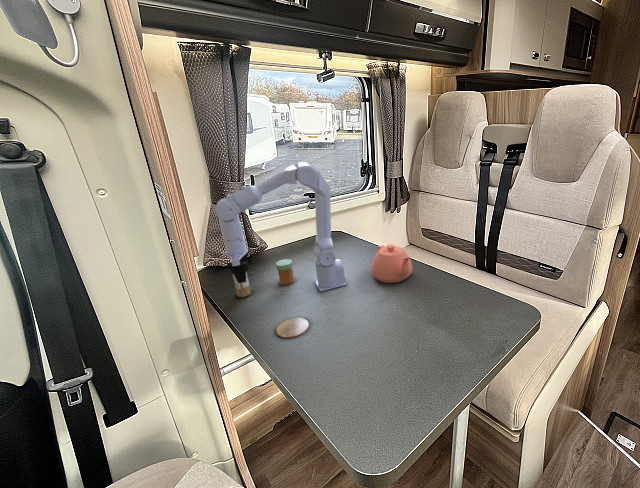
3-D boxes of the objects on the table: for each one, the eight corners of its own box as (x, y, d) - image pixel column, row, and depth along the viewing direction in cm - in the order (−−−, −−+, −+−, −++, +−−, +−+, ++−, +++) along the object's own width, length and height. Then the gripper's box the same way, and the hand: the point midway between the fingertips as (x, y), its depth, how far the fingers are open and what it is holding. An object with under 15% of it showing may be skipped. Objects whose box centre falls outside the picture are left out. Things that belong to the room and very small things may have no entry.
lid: (291, 262, 120) (290, 257, 119) (293, 268, 115) (293, 263, 115) (275, 265, 118) (274, 261, 117) (277, 271, 113) (276, 267, 112)
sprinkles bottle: (252, 295, 110) (245, 259, 106) (237, 299, 108) (230, 262, 103) (249, 290, 114) (243, 255, 109) (235, 293, 111) (228, 258, 107)
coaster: (305, 315, 98) (305, 314, 98) (311, 331, 91) (311, 330, 90) (274, 324, 94) (274, 323, 94) (278, 342, 87) (278, 341, 87)
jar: (293, 277, 122) (290, 259, 119) (295, 282, 118) (292, 264, 115) (279, 280, 120) (275, 262, 117) (281, 286, 116) (277, 268, 113)
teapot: (427, 282, 115) (427, 250, 111) (391, 295, 107) (389, 262, 103) (395, 261, 132) (394, 233, 128) (361, 271, 125) (359, 242, 120)
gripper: (222, 232, 102) (231, 269, 107) (215, 248, 89) (226, 290, 94) (246, 228, 104) (254, 265, 109) (242, 244, 92) (252, 285, 97)
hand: (243, 276), depth 102 cm, fingers open, 7 cm apart
